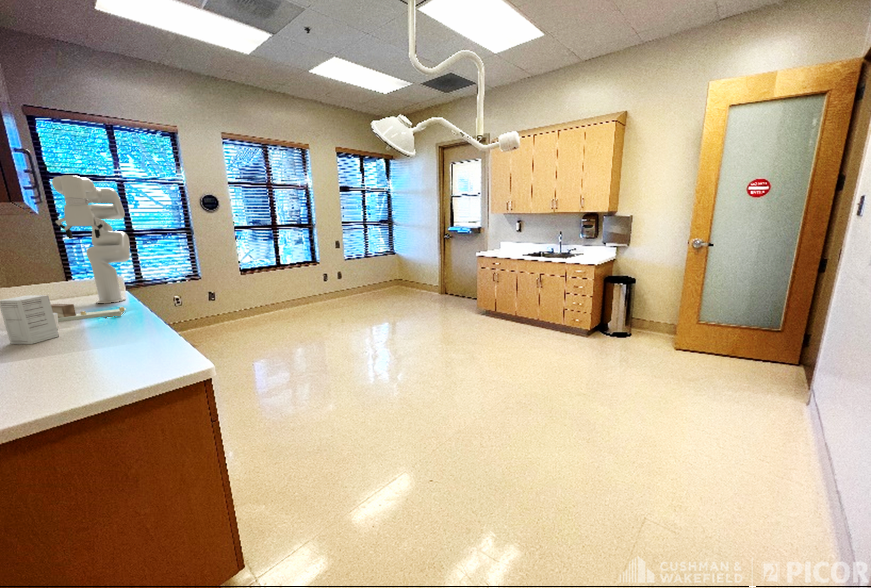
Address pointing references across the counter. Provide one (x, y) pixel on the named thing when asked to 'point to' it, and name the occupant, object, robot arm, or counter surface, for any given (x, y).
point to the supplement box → (28, 319)
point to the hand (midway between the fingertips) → (84, 238)
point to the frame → (63, 310)
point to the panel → (94, 314)
